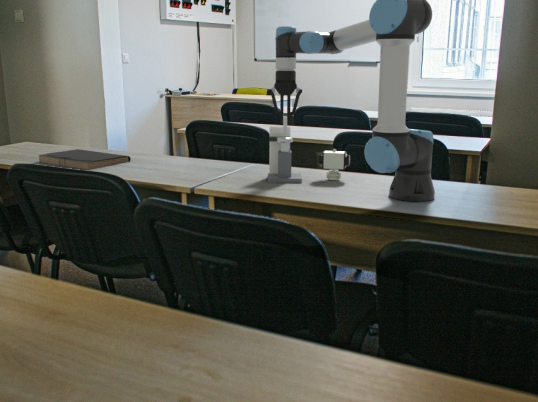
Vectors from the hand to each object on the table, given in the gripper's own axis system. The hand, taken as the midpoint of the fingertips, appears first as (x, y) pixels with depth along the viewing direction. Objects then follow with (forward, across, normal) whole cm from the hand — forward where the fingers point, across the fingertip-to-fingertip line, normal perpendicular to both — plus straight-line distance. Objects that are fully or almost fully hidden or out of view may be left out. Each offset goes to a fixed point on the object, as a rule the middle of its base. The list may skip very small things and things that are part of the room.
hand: (285, 133), depth 219 cm
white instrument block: (+13, +1, 0) cm, 13 cm away
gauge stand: (+18, 0, 0) cm, 18 cm away
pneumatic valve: (+18, -19, -1) cm, 26 cm away
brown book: (+19, +90, -35) cm, 98 cm away
